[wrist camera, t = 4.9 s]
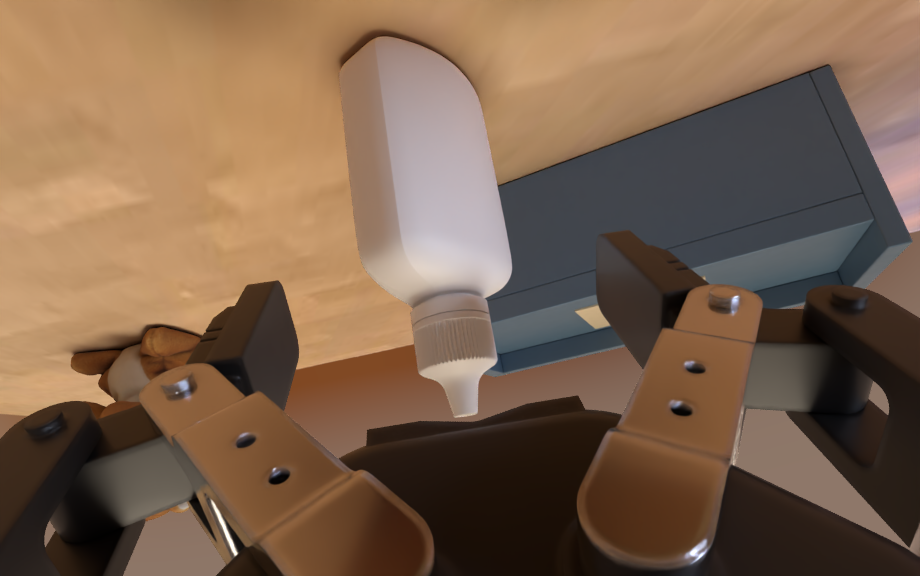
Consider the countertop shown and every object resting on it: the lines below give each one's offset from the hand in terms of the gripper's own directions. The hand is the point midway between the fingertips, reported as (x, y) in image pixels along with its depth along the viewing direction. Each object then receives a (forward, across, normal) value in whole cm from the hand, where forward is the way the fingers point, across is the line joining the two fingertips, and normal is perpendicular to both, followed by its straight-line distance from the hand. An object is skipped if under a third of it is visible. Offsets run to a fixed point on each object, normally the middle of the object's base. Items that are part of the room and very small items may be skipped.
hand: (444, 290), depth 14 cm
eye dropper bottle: (+9, 0, -4) cm, 10 cm away
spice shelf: (+18, -12, +5) cm, 22 cm away
